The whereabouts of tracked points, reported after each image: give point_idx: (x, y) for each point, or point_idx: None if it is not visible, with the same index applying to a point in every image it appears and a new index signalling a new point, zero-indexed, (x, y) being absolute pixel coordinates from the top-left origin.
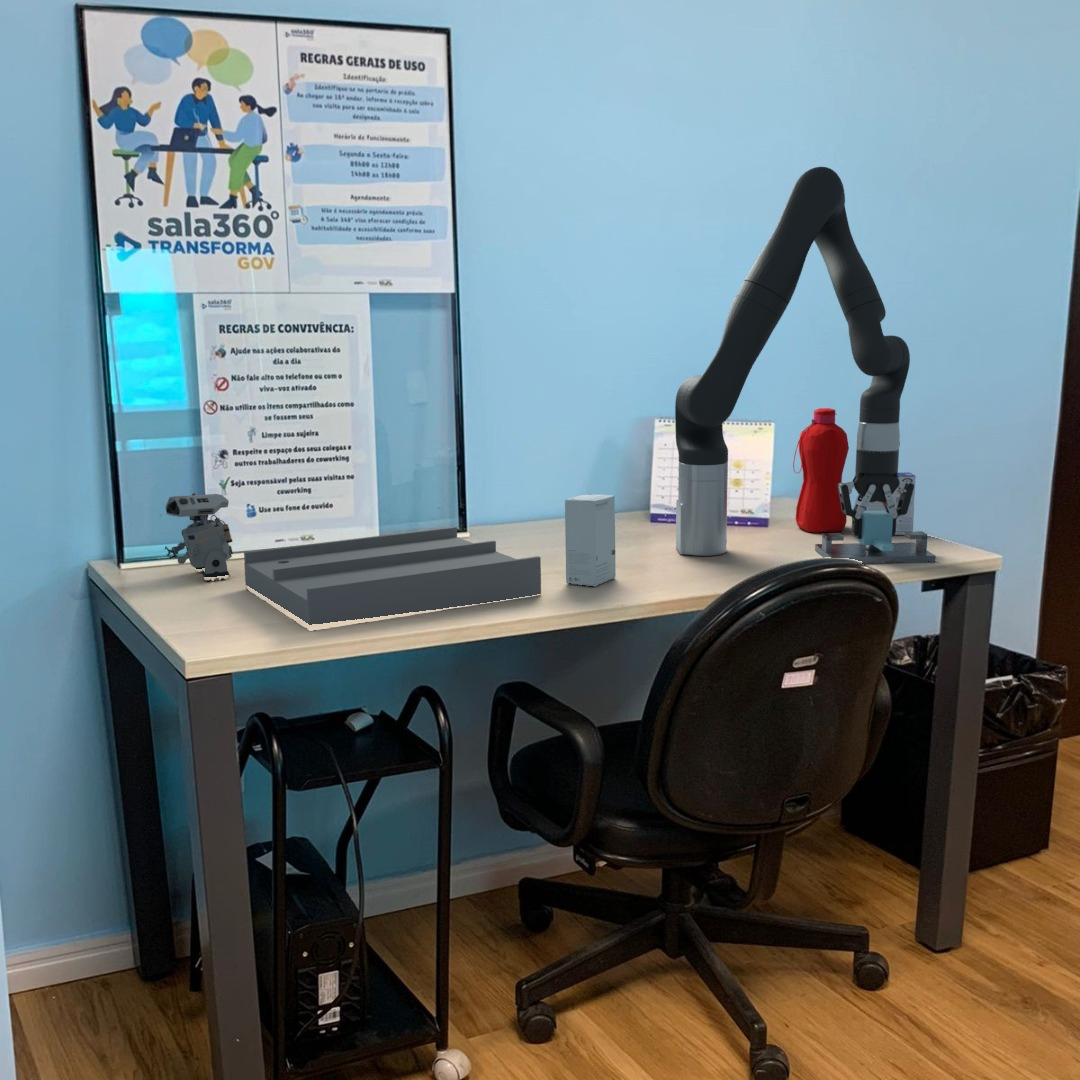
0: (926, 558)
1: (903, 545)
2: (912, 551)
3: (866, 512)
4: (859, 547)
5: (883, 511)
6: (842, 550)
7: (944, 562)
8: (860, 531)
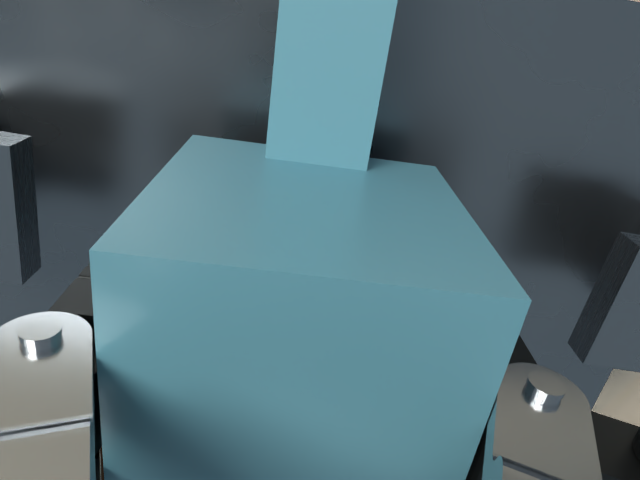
0: None
1: (617, 131)
2: (535, 315)
3: (207, 383)
4: (255, 112)
5: (480, 368)
6: (91, 178)
7: (605, 410)
8: None
